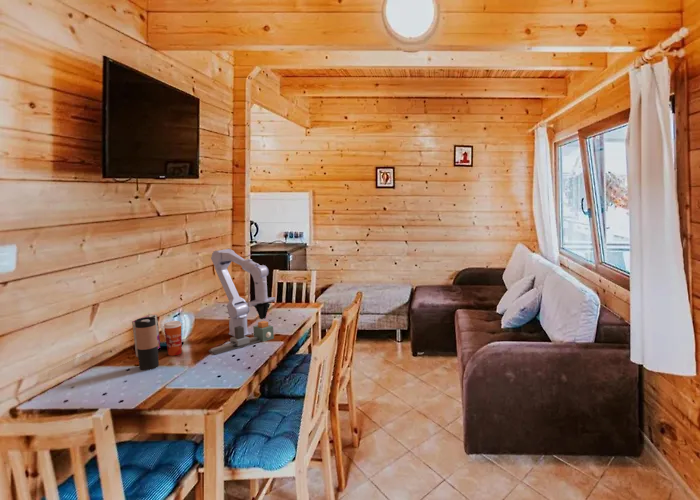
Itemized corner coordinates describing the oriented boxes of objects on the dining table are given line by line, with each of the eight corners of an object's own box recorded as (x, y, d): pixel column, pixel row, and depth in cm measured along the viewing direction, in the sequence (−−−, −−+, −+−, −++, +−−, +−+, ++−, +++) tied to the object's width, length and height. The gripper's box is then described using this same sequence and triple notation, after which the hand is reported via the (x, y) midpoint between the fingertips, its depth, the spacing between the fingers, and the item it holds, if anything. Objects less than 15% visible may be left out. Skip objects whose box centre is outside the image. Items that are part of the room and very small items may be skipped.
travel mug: (143, 364, 181) (139, 317, 178) (162, 362, 181) (158, 316, 179) (135, 371, 173) (131, 322, 171) (155, 369, 174) (151, 321, 171)
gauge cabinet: (254, 338, 210) (253, 326, 210) (264, 335, 215) (263, 323, 214) (263, 341, 205) (262, 329, 204) (274, 338, 209) (273, 326, 208)
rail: (208, 351, 193) (208, 347, 193) (253, 339, 209) (253, 335, 209) (215, 354, 189) (214, 350, 189) (260, 341, 205) (260, 337, 205)
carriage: (230, 342, 201) (229, 327, 200) (241, 339, 205) (240, 324, 204) (238, 346, 196) (237, 330, 195) (249, 342, 200) (248, 327, 199)
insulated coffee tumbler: (151, 348, 200) (148, 314, 198) (161, 349, 199) (158, 314, 197) (134, 357, 189) (131, 320, 187) (144, 357, 188) (141, 321, 186)
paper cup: (166, 357, 187) (163, 326, 186) (164, 352, 194) (162, 322, 193) (185, 354, 191) (183, 323, 189) (183, 349, 198) (181, 319, 196)
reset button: (258, 329, 209) (257, 322, 209) (264, 327, 212) (264, 320, 211) (262, 330, 207) (261, 323, 206) (268, 329, 209) (268, 322, 209)
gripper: (252, 294, 199) (254, 323, 201) (278, 289, 209) (279, 316, 211) (244, 292, 204) (246, 320, 206) (270, 287, 214) (271, 314, 216)
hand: (262, 318), depth 209 cm, fingers closed
